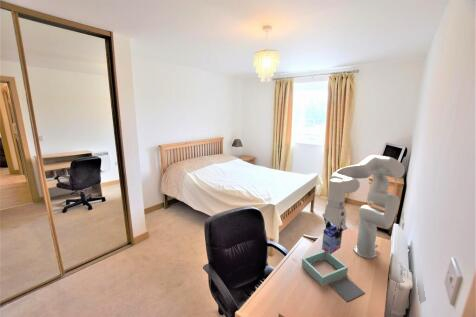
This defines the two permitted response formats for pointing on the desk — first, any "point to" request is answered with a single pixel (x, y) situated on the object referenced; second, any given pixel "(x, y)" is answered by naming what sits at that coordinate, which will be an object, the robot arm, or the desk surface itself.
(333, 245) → the ink cartridge box
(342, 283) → the mat
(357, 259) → the desk surface
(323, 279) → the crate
